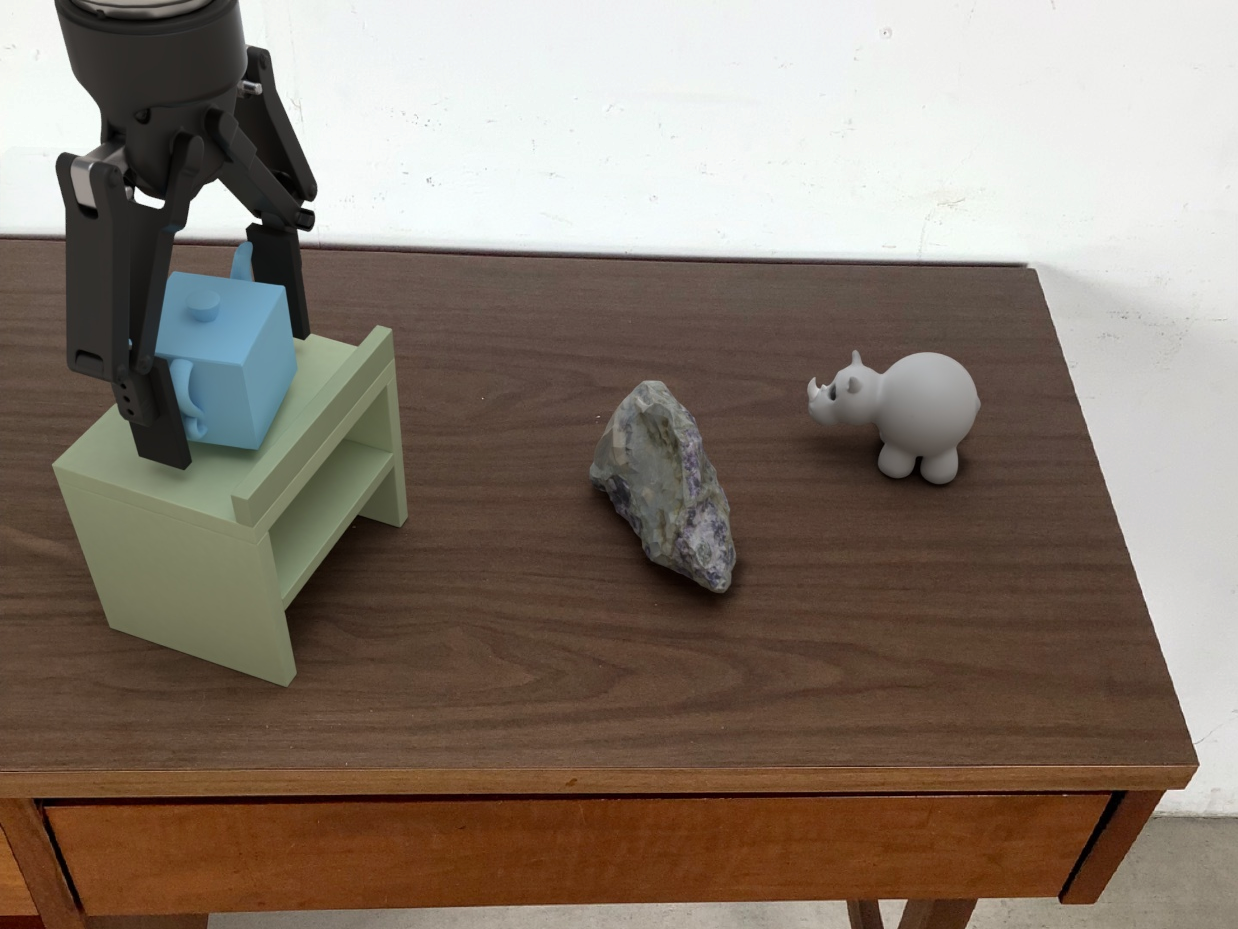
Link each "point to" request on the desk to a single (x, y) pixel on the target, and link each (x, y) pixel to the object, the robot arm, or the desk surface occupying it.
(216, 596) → the shelf
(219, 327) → the teapot
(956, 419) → the toy rhinoceros
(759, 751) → the desk surface
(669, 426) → the mineral rock
